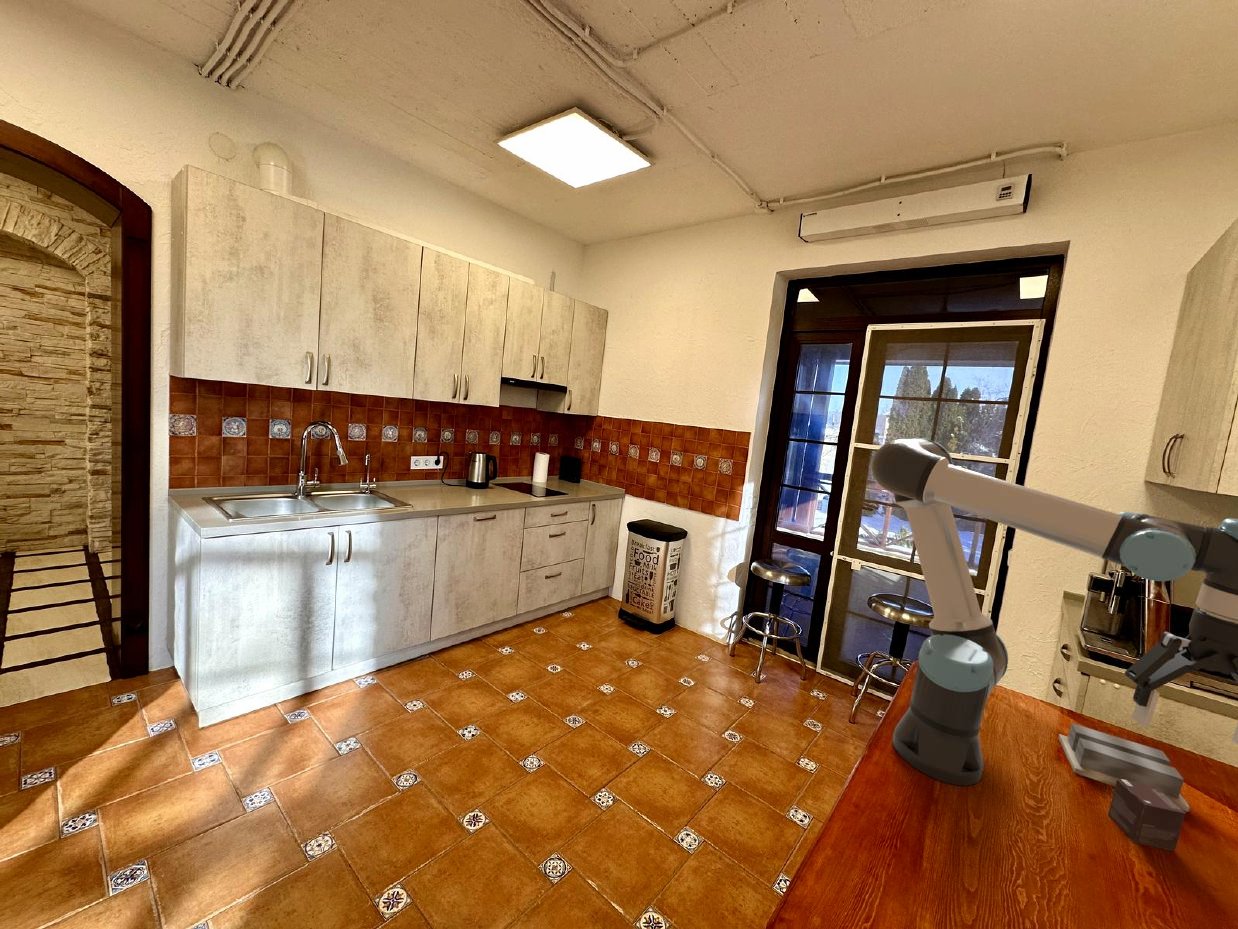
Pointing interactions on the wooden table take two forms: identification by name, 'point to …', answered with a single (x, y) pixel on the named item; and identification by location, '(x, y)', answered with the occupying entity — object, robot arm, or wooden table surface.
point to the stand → (1120, 761)
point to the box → (1146, 814)
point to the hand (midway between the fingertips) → (1189, 734)
